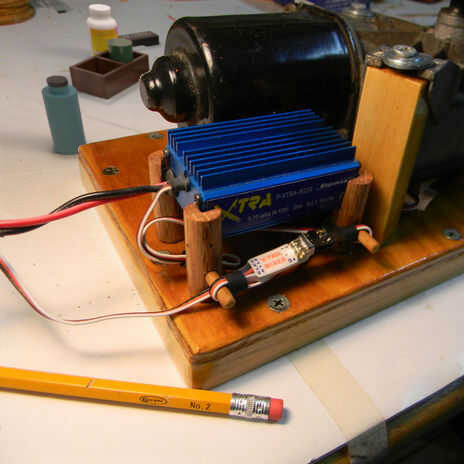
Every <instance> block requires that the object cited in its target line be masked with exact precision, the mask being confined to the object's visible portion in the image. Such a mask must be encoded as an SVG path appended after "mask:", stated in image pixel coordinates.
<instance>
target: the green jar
mask: <svg viewBox="0 0 464 464" xmlns="http://www.w3.org/2000/svg"><path fill="white" fill-rule="evenodd" d="M107 42H108V50H109V58H110V60H114V61H118V62H121V63H125V64H126V63H128V62H130V61H132V60H134V58H133V50H134V47H132V42H131V41H130V40H128V39H124V38H113V39H110V40H108V41H107Z"/></svg>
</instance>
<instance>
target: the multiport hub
mask: <svg viewBox="0 0 464 464" xmlns="http://www.w3.org/2000/svg"><path fill="white" fill-rule="evenodd" d="M118 38H124V39H128V40H130V41H131V42H132V47H133V48H134V47H139V46H143V47H151V46H156V45H160V36H159V34H158V33H155V32H153V31H151V30H146V31H139V32H134V33H127V34H122V35H121V34H120V35H118Z"/></svg>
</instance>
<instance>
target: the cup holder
mask: <svg viewBox="0 0 464 464" xmlns="http://www.w3.org/2000/svg"><path fill="white" fill-rule="evenodd" d="M149 56H150V55H149V54H148V53H144V52H141V51H137V50H134V49H133V58H134V60H132V61H130V62H128V63H126V64H125V63H121V62H118V61H114V60H110V58H109V50H106V51H104V52H101V53H99V54H97V55H95V56H92V55H91V56H90V57H88V58H86V59H84V60H81V61H80V62H77V63H75V64H73V65H70V66H68V70H69V76H70V79H71V86H73V87H75V88H76V90H77V92H81V93H84V94H86V95H90V96H93V97H97V98H101V99H104V100H110V99H111V98H113V97H115V96H117V95H118V94H120V93H122V92H124V91H125V90H128V88H131V87H132V86H134V85H136V84H137V83H139V82H140V81H139V79H140V76H141V75H142V74H144V73H146V72H148V71H151V70H150V59H149ZM138 81H139V82H138Z"/></svg>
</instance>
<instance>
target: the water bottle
mask: <svg viewBox="0 0 464 464" xmlns="http://www.w3.org/2000/svg"><path fill="white" fill-rule="evenodd" d="M45 81H46V86H44V87H43V88H42V89H41V97H42V102H43V106H44V110H45V114H46V118H47V122H48V127H49V131H50V135H51V139H52V144H53V148H54V151H55V152H56V153H58V154H62V155H67V156H68V155H69V156H70V155H71V156H72V155H77V154H79V153H78V148H79V146H80V145H84V144H87V139H86V134H85V129H84V122H83V117H82V111H81V106H80V101H79V95H78V91H77V90H76V88H75V87H73V86H72V84H71V85H70V84H69V80H68V78H67V77H66V76H65V75H58V74H57V75H49V76H48V77H46V79H45Z"/></svg>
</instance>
